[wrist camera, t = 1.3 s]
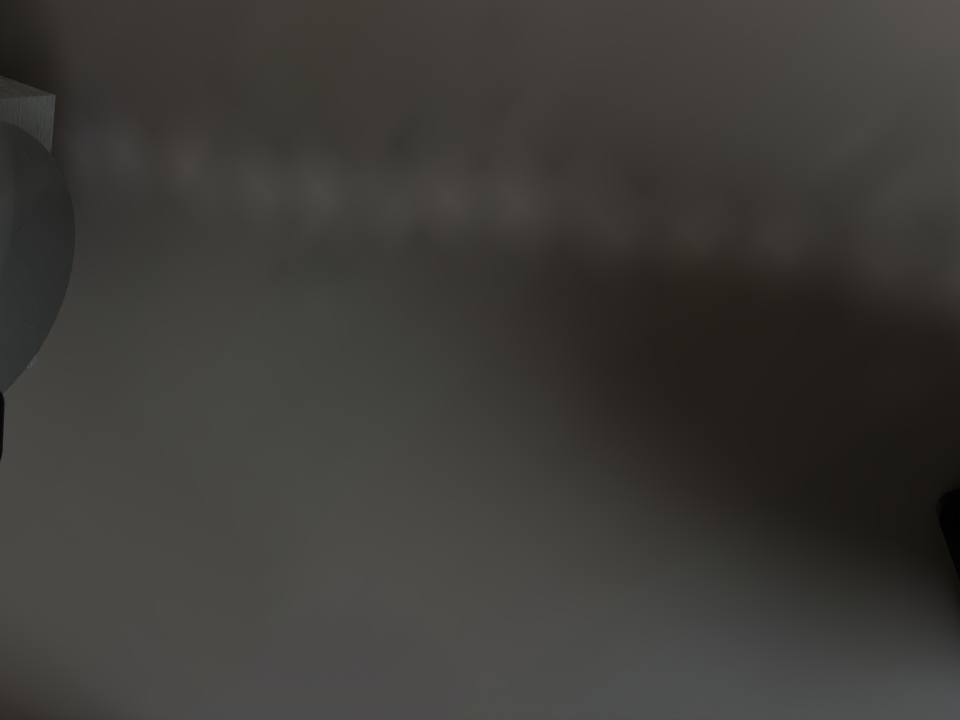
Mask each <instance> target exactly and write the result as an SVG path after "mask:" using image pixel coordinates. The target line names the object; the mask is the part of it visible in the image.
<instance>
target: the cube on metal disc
mask: <svg viewBox="0 0 960 720" xmlns="http://www.w3.org/2000/svg"><path fill="white" fill-rule="evenodd" d="M55 97H56V95H54V94H51V93H48V92H46V91H43V90H40V89H37V88H34V87H31V86H28V85H26V84H23V83H20V82H17V81H14V80H11V79H8V78H5V77H3V76H0V391H1V392H2V394H3V393H4V392H5V391H6V390H7V389H8V388H9V387H10V386H11V385H12V384H13V383H14V382H15V381H16V379H17V378H18V377H19V376H20V375H21V374H22V372H23V371H24V370H26V369H28V368H31V367H33V366H35V364H36V354H37V352H38V350H39V349H40V347H41V345H42V344H43V342H44V341H45V339H46V337H47V335H48V333H49V331H50V329H51V327H52V325H53V323H54V321H55V319H56V317H57V314H58V312H59V310H60V307H61V305H62V302H63V299H64V296H65V293H66V289H67V286H68V282H69V278H70V273H71V269H72V263H73V255H74V244H75V224H74V212H73V207H72V201H71V196H70V193H69V190H68V186H67V183H66V181H65V178H64V176H63V174H62V172H61V170H60V168H59V166H58V164H57V163H56V161H55V160H54V158H53V157H52V155H51V150H52V137H53V124H54V110H55Z"/></svg>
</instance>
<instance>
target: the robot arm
mask: <svg viewBox="0 0 960 720" xmlns="http://www.w3.org/2000/svg"><path fill="white" fill-rule="evenodd" d="M4 406H5V402H4V397H3V394H2V392H1V391H0V460H1V457H2V451H3V429H4ZM957 509H960V488H959V489H955V490H952V491H950V492H947V493H945V494H944V495H943V496H942V497H941V498H940V499H939V501H938V504H937V506H936V512H937V517H938V520H939V523H940V526H941V529H942V532H943V534H944V537H945V540H946V543H947V546H948V549H949V551H950V554H951V557H952V560H953V563H954V566H955V568H956V571H957V574H958V577H959V580H960V520H957V519H955V518H952V514H953V513H954V512H955V510H957Z"/></svg>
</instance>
